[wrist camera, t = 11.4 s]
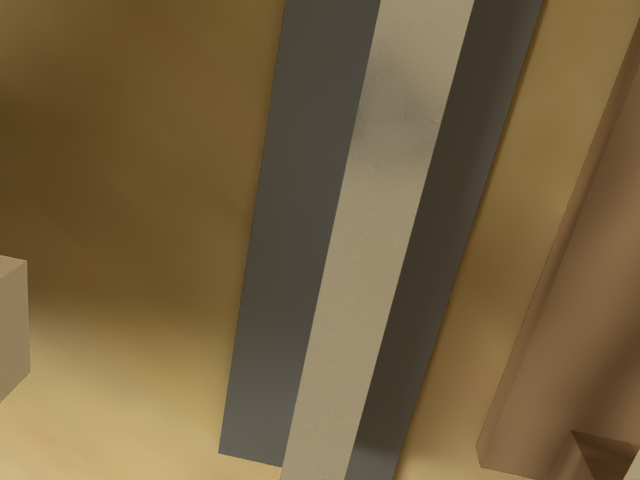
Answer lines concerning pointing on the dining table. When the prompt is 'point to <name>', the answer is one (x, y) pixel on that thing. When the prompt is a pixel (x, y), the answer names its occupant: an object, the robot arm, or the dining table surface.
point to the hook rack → (582, 322)
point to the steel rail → (373, 225)
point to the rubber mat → (320, 210)
